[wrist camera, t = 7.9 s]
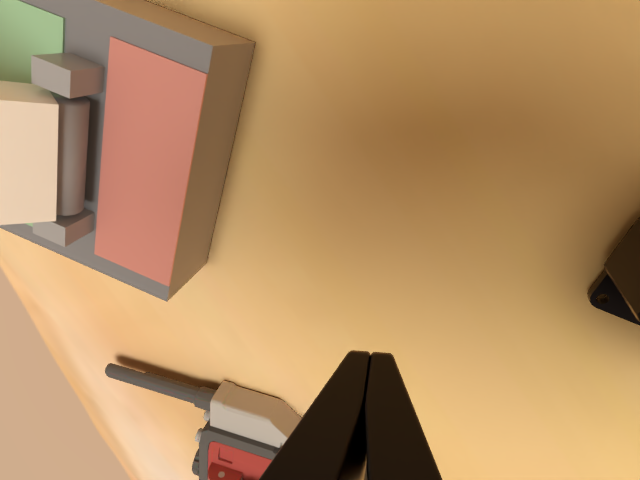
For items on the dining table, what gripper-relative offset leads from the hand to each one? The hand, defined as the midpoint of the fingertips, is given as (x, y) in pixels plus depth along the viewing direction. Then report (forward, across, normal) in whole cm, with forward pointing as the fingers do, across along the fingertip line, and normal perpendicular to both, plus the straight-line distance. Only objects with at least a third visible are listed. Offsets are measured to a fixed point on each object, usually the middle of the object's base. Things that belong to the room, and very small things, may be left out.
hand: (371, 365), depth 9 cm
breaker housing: (+14, +13, 0) cm, 19 cm away
